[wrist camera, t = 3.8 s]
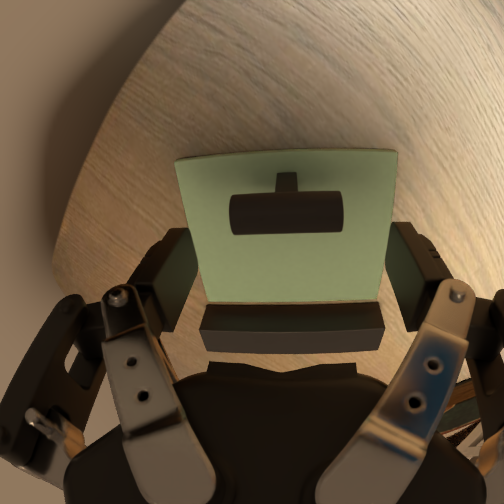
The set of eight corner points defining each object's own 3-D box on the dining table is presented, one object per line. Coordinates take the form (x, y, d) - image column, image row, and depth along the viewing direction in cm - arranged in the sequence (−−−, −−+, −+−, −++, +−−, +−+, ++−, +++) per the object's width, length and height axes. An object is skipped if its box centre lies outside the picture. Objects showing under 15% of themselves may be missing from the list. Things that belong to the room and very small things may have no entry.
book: (542, 342, 25) (417, 395, 32) (550, 358, 22) (422, 416, 29) (512, 390, 34) (409, 430, 41) (516, 403, 31) (411, 445, 38)
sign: (209, 297, 24) (192, 352, 20) (176, 159, 18) (135, 195, 13) (375, 294, 22) (390, 351, 17) (395, 149, 15) (436, 184, 11)
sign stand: (213, 326, 27) (206, 351, 24) (206, 304, 25) (198, 329, 23) (372, 324, 24) (378, 350, 22) (378, 301, 23) (385, 328, 20)
